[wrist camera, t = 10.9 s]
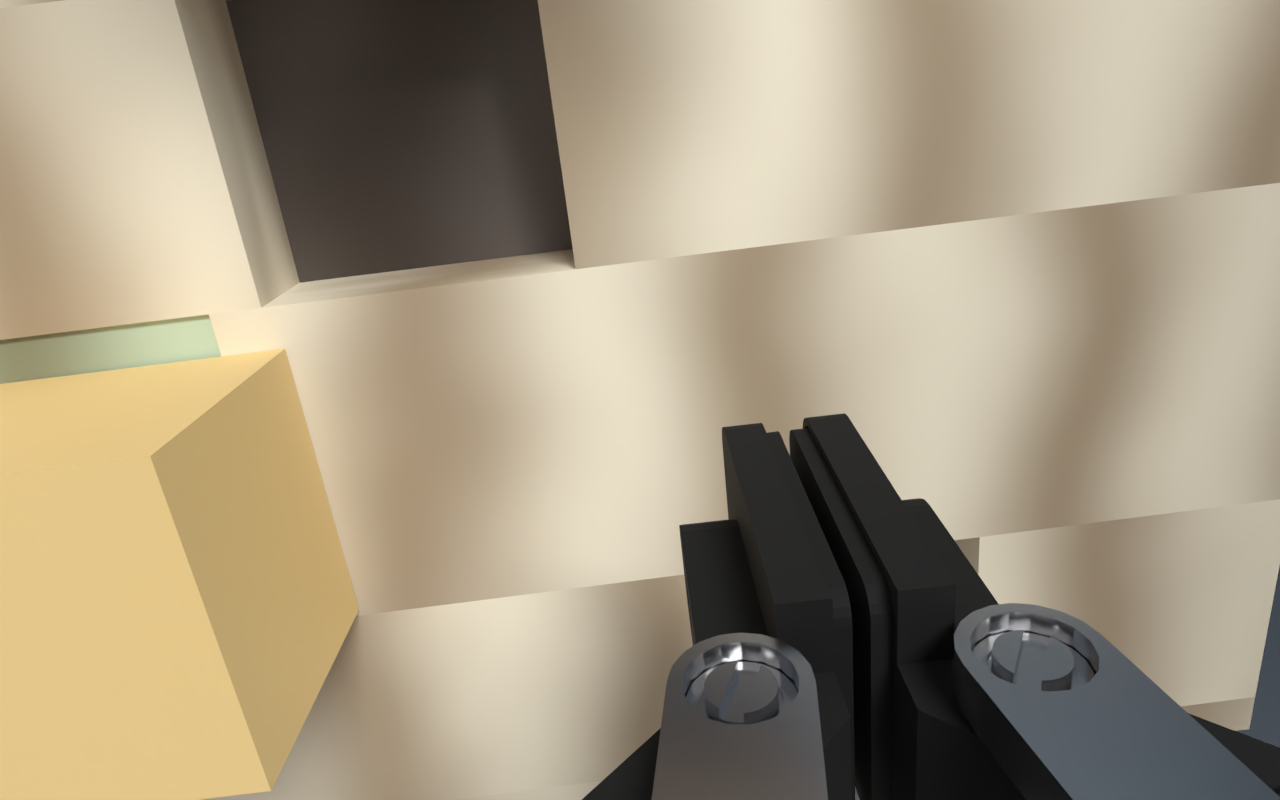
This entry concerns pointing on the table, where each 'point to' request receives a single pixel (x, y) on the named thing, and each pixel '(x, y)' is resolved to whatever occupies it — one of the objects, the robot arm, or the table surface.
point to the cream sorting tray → (677, 314)
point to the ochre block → (162, 580)
